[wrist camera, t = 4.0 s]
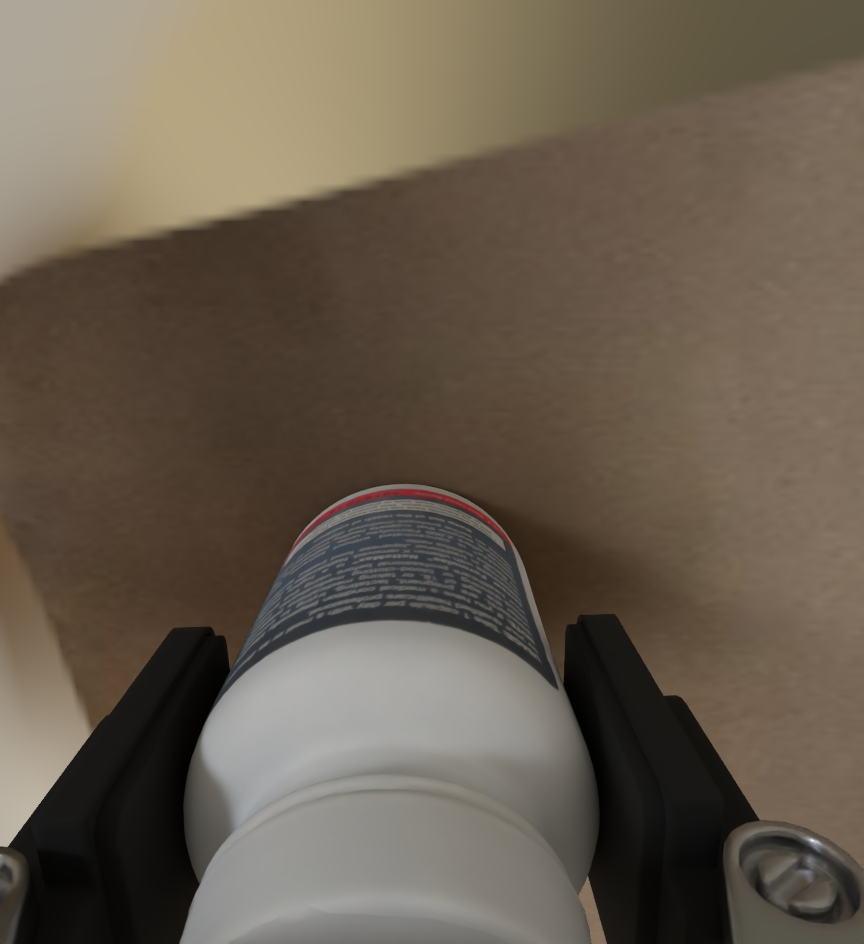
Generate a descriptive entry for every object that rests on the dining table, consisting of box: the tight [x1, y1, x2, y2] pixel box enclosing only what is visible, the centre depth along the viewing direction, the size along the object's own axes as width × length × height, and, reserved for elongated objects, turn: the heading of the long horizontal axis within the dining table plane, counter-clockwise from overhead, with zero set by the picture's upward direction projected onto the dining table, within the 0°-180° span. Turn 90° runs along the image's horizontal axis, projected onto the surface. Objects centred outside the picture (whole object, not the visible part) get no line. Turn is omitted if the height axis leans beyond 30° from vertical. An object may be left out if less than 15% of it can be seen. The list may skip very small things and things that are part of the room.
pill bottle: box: [179, 484, 600, 944], centre depth 10 cm, size 5×5×9 cm
